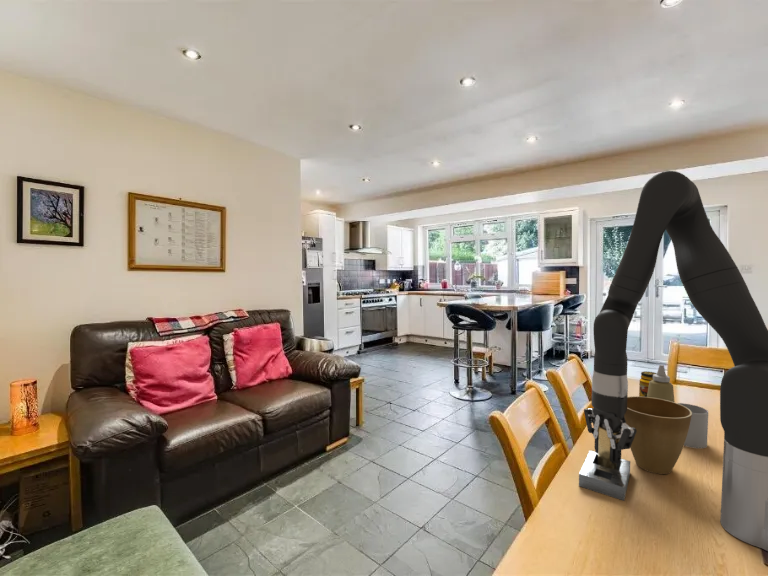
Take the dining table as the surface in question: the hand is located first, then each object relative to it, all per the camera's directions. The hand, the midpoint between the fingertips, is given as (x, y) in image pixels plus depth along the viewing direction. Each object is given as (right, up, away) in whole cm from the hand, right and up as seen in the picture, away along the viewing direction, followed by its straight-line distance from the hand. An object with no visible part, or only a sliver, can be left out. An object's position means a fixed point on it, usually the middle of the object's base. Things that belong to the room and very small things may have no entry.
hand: (607, 457), depth 92 cm
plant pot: (+14, -4, +3) cm, 15 cm away
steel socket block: (-2, -4, -2) cm, 5 cm away
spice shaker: (0, -3, 0) cm, 3 cm away
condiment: (+44, -2, +47) cm, 65 cm away
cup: (+34, -3, +17) cm, 38 cm away
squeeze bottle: (+39, -2, +35) cm, 52 cm away
